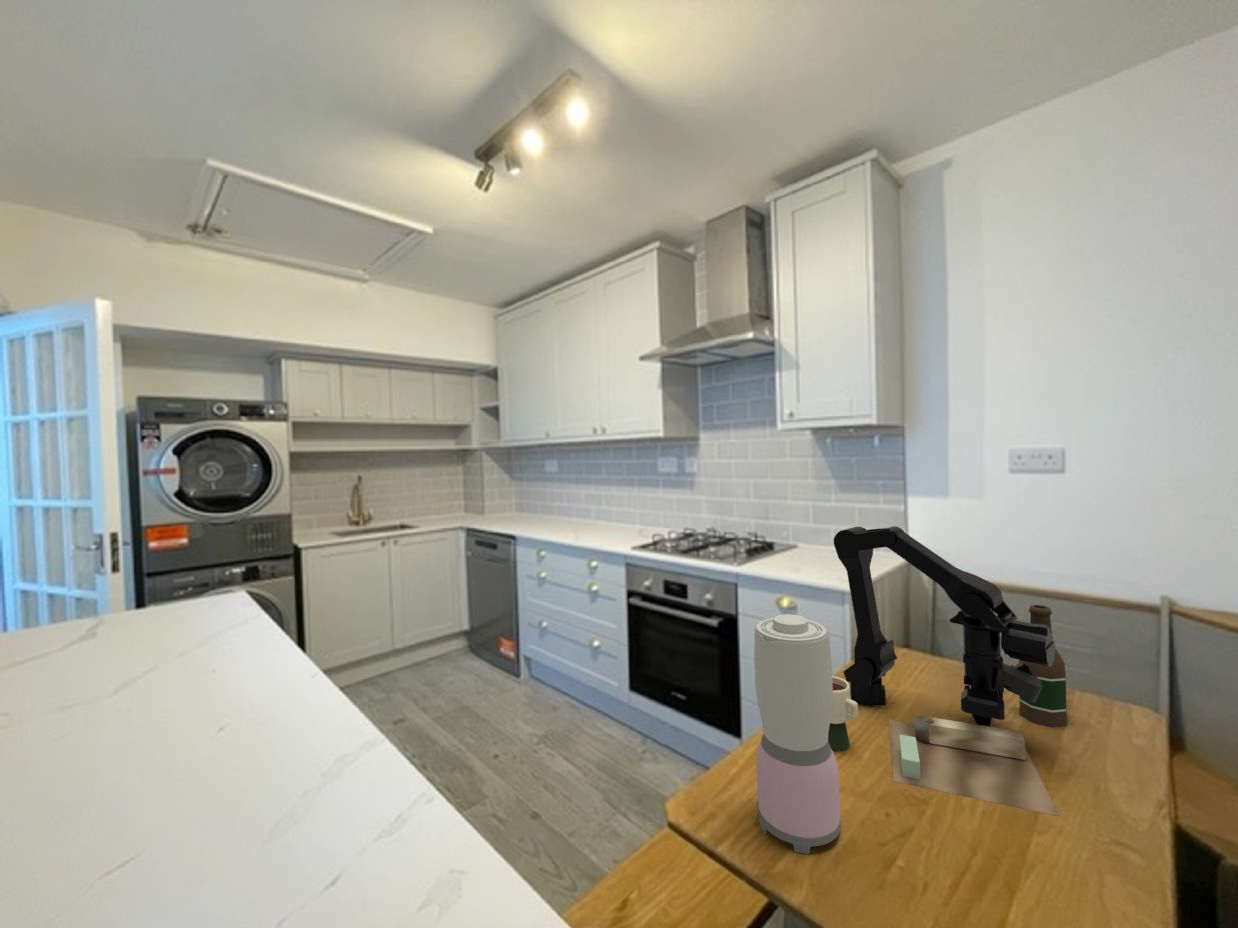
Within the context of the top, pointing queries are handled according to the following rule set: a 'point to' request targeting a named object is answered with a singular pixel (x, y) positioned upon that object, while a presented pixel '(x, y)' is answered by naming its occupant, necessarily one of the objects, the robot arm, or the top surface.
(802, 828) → the blender
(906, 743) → the block
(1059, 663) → the beer bottle
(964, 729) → the fold-out leg
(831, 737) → the character mug
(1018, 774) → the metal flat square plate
